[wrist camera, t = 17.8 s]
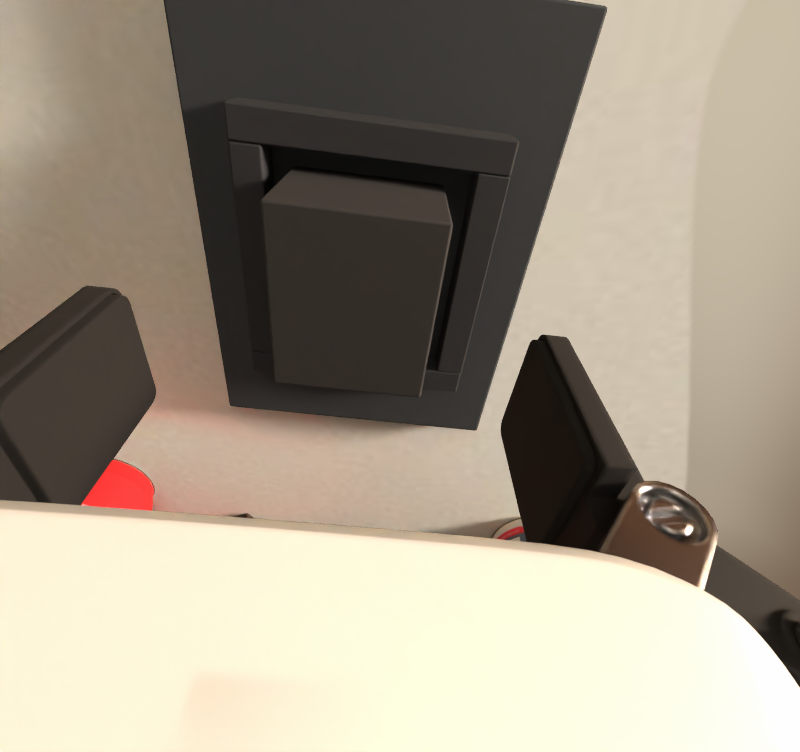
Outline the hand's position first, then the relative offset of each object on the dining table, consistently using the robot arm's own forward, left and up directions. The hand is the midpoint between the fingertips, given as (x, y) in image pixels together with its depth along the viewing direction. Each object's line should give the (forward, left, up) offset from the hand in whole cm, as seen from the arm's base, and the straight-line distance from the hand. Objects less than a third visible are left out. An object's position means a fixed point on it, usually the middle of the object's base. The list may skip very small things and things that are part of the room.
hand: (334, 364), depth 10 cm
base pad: (0, 0, -8) cm, 8 cm away
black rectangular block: (0, 0, -7) cm, 7 cm away
